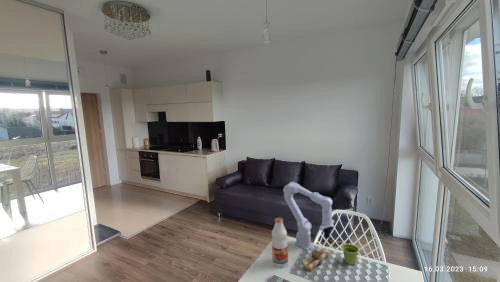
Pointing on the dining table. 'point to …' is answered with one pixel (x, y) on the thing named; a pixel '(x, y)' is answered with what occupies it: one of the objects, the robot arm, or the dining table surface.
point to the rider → (316, 254)
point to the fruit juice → (279, 244)
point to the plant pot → (350, 253)
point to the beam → (315, 261)
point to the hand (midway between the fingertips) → (327, 237)
